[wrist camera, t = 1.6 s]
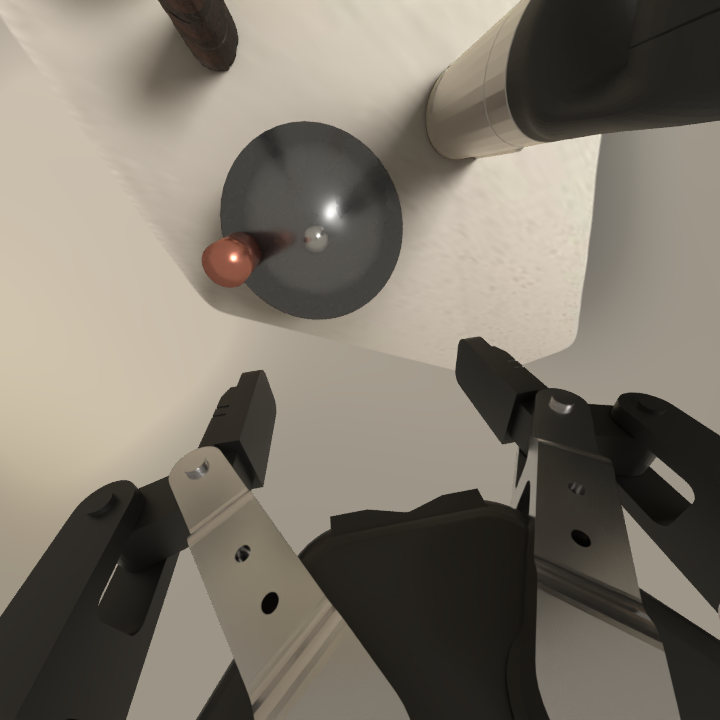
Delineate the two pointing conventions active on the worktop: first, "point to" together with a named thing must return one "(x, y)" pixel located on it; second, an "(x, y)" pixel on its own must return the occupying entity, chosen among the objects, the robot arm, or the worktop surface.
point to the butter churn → (205, 30)
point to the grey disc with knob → (307, 222)
